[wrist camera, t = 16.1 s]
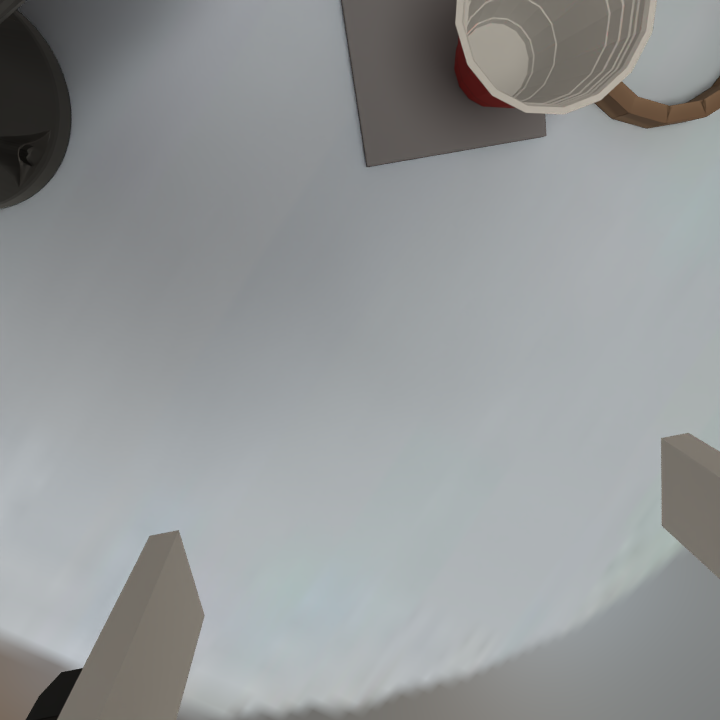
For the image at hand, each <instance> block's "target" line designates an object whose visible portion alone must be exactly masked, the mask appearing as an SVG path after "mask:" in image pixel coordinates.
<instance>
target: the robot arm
mask: <svg viewBox="0 0 720 720" xmlns="http://www.w3.org/2000/svg"><path fill="white" fill-rule="evenodd" d="M26 1H27V0H0V209H2V208H6V207H10V206H13V205H15V204H18V203H20V202H22V201H24V200H26V199H28V198H29V197H31V196H33V195H34V194H35V193H37V192H38V191H39V190H40V189H41V188H43V187H44V186H45V185H46V184H47V183H48V181H49V180H50V179H51V178H52V177H53V175H54V174H55V172H56V171H57V169H58V167H59V166H60V164H61V162H62V159H63V157H64V155H65V152H66V149H67V145H68V141H69V136H70V128H71V107H70V99H69V94H68V89H67V86H66V82H65V79H64V76H63V73H62V71H61V68H60V66H59V64H58V62H57V60H56V58H55V56H54V54H53V52H52V50H51V49H50V47H49V46H48V44H47V42H46V41H45V40H44V38H43V37H42V36H41V34H40V33H39V32H38V31H37V29H36V28H35V27H34V26H33V25H32V24H31V23H30V22H29V21H28V20H27V19H26V18H25V17H24V16H23V15H22V14H21V13H20V12H19V11H17V9H18V8H19V7H20V6H21V5H22V4H23V3H24V2H26ZM661 480H662V526H663V527H664V528H665V529H666V530H667V531H668V532H669V533H670V534H671V535H672V536H674V537H675V538H676V539H677V540H678V541H679V542H680V543H681V544H682V545H683V546H684V547H685V548H687V549H688V550H689V551H690V552H691V553H692V554H693V555H694V556H695V557H696V558H698V559H699V560H700V561H701V562H702V563H703V564H704V565H705V566H706V567H708V569H709V570H711V571H712V572H713V573H714V574H715V575H716V576H717V577H718V578H719V579H720V452H719V451H718V450H716V449H714V448H713V447H711V446H709V445H708V444H706V443H704V442H703V441H701V440H699V439H698V438H696V437H694V436H693V435H691V434H689V433H686V434H680V435H675V436H670V437H665V438H661ZM203 619H204V612H203V609H202V606H201V602H200V599H199V596H198V592H197V589H196V586H195V582H194V579H193V576H192V573H191V569H190V566H189V563H188V559H187V556H186V553H185V549H184V546H183V543H182V539H181V536H180V533H179V530H178V531H173V532H167V533H162V534H157V535H152V536H149V538H148V540H147V542H146V544H145V546H144V548H143V550H142V552H141V554H140V556H139V558H138V560H137V562H136V564H135V566H134V568H133V570H132V572H131V574H130V576H129V578H128V580H127V582H126V584H125V586H124V588H123V590H122V592H121V594H120V596H119V598H118V600H117V602H116V604H115V606H114V608H113V610H112V612H111V614H110V616H109V618H108V620H107V622H106V624H105V626H104V628H103V629H102V631H101V633H100V635H99V637H98V639H97V641H96V643H95V645H94V647H93V649H92V651H91V653H90V655H89V657H88V659H87V661H86V663H85V665H84V667H83V668H81V669H76V670H71V671H66V672H61V673H60V674H59V676H58V677H57V678H56V679H55V680H54V681H53V682H52V683H51V684H50V685H49V686H48V687H47V689H45V690H44V692H43V693H42V694H41V695H40V696H39V698H38V700H37V701H36V703H35V704H34V706H33V708H32V710H31V712H30V713H29V715H28V717H27V719H26V720H176V719H177V715H178V711H179V707H180V704H181V700H182V696H183V693H184V689H185V685H186V682H187V678H188V674H189V671H190V667H191V663H192V660H193V656H194V652H195V649H196V645H197V641H198V638H199V634H200V630H201V627H202V623H203Z"/></svg>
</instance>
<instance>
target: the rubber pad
mask: <svg viewBox="0 0 720 720" xmlns="http://www.w3.org/2000/svg"><path fill="white" fill-rule="evenodd" d="M341 3H342V9H343V16H344V22H345V29H346V35H347V42H348V48H349V55H350V61H351V68H352V74H353V81H354V87H355V94H356V100H357V107H358V113H359V120H360V126H361V133H362V139H363V146H364V152H365V159H366V165H367V167H370V166H376V165H382V164H388V163H393V162H399V161H405V160H411V159H417V158H423V157H428V156H434V155H440V154H446V153H452V152H458V151H463V150H469V149H475V148H481V147H487V146H493V145H498V144H504V143H510V142H516V141H522V140H528V139H533V138H539V137H544V136H546V122H545V114H542V113H525V112H523V111H521V110H519V109H517V108H498V107H483V106H481V105H479V104H477V103H476V102H474V101H472V100H470V99H469V98H468V97H467V96H466V94H465V93H464V92H463V91H462V89H461V88H460V87H459V84H458V80H457V77H456V73H455V70H454V66H455V53H456V48H457V45H458V37H459V34H458V31H457V28H456V24H455V21H456V6H457V0H341Z"/></svg>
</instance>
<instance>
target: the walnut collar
mask: <svg viewBox="0 0 720 720" xmlns="http://www.w3.org/2000/svg"><path fill="white" fill-rule="evenodd" d="M595 104H596V105H597V106H598V107H599V108H601V109H602V110H603V111H604V112H605V113H606V114H607V115H608V116H609V117H611V118H612V119H615V120H618V121H622V122H626V123H629V124H633V125H636V126H640V127H643V128H653V127H659V126H664V125H670V124H676V123H682V122H687V121H691V120H695V119H699V118H703V117H707V116H708V115H710V114H712V113H713V112H715V111H716V110H718V109H719V108H720V77H719V78H718V79H717V80H716V82H715V83H714V84H713V86H712V87H711V88H710V89H708V90H706V91H705V92H703V93H702V94H700V95H698V96H697V97H695V98H694V99H692V100H691V101H689V102H687V103H684V104H678V105H672V106H668V105H665V104H661V103H658V102H654V101H651V100H648V99H644V98H641V97H638V96H637V95H636V94H635V93H634V92H632V91H631V90H630V89H629V88H628V87H627V86H626V85H625V84H624V83H623V82H622V81H621V82H620V83H619V84H618V85H617V86H616V87H615V88H614V89H612V90H611V91H610V92H609V93H608V94H607V95H606V96H605V97H604V98H603V99H602V100H600V101H597V102H595Z"/></svg>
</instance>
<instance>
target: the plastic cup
mask: <svg viewBox="0 0 720 720" xmlns="http://www.w3.org/2000/svg"><path fill="white" fill-rule="evenodd" d="M656 2H657V0H457V6H456V21H455V24H456V28H457V31H458V34H459V37H458V45H457V48H456V53H455V66H454V70H455V73H456V77H457V80H458V84H459V87H460V88H461V89H462V91H463V92H464V93H465V94H466V96H467V97H468V98H469V99H470V100H472V101H474V102H476V103H477V104H479V105H481V106H483V107H498V108H517V109H519V110H521V111H523V112H525V113H542V114H566V113H569V112H572V111H574V110H577V109H579V108H582V107H584V106H587V105H590V104H592V103H595V102H597V101H600V100H602V99H603V98H604V97H605V96H606V95H607V94H608V93H609V92H610V91H611V90H612V89H614V88H615V87H616V86H617V85H618V84H619V83H620V82H621V81H622V80H623V79H624V78H626V77H627V76H628V75H629V74H630V73H631V72H632V70H633V68H634V67H635V65H636V63H637V61H638V59H639V57H640V55H641V53H642V51H643V49H644V47H645V45H646V44H647V42H648V40H649V38H650V36H651V34H652V30H653V23H654V16H655V9H656Z"/></svg>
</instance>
